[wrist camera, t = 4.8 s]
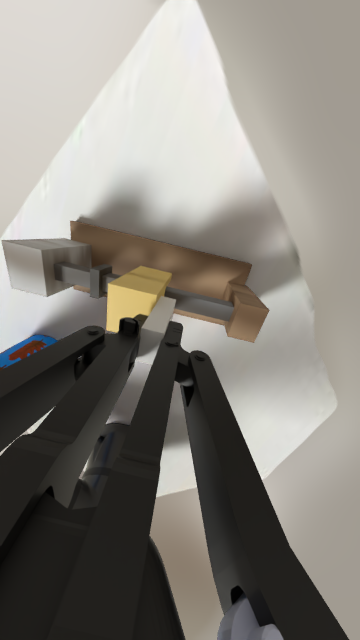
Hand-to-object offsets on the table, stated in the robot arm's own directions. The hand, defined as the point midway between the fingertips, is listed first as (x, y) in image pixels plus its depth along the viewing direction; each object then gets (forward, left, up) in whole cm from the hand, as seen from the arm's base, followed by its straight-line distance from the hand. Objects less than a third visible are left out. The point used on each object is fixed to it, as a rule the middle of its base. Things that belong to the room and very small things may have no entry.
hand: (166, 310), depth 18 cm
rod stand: (0, +3, -12) cm, 12 cm away
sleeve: (0, +3, -6) cm, 7 cm away
